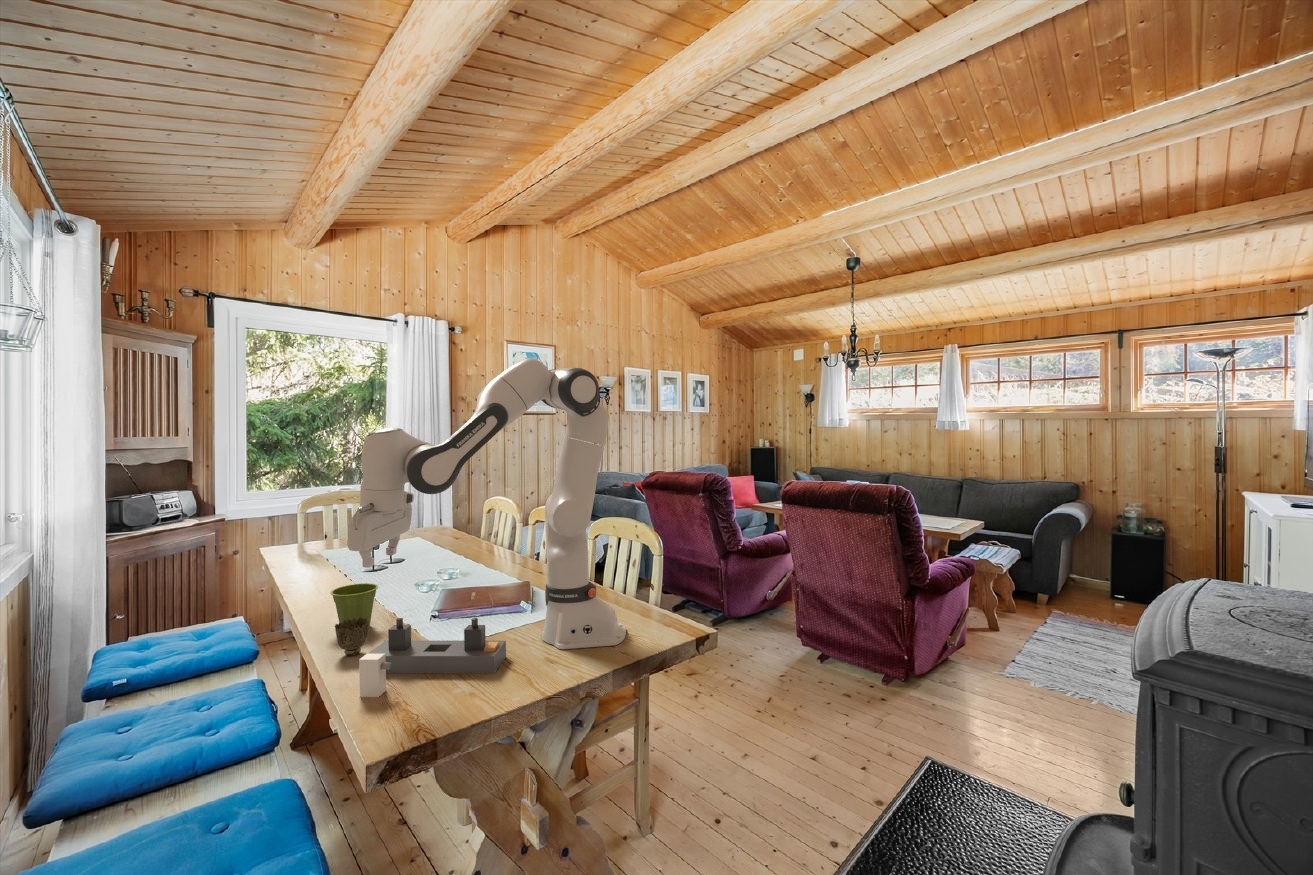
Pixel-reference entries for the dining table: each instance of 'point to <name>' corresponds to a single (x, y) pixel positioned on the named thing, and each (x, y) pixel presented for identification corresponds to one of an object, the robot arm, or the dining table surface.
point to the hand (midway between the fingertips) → (380, 560)
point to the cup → (352, 635)
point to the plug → (373, 675)
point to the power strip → (441, 652)
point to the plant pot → (354, 601)
